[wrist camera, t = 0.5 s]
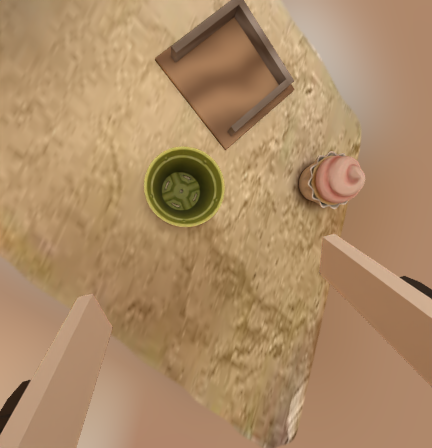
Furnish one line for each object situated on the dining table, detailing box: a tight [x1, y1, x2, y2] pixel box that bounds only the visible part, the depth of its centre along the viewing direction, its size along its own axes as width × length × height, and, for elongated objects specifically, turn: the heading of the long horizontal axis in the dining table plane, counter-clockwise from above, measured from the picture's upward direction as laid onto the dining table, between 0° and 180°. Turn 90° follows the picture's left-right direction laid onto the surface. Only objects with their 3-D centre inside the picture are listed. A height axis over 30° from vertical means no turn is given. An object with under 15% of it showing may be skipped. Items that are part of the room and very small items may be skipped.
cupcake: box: [299, 151, 365, 209], centre depth 33 cm, size 9×9×10 cm
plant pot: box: [144, 147, 225, 227], centre depth 28 cm, size 9×9×9 cm
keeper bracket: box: [155, 0, 294, 150], centre depth 32 cm, size 16×16×2 cm
